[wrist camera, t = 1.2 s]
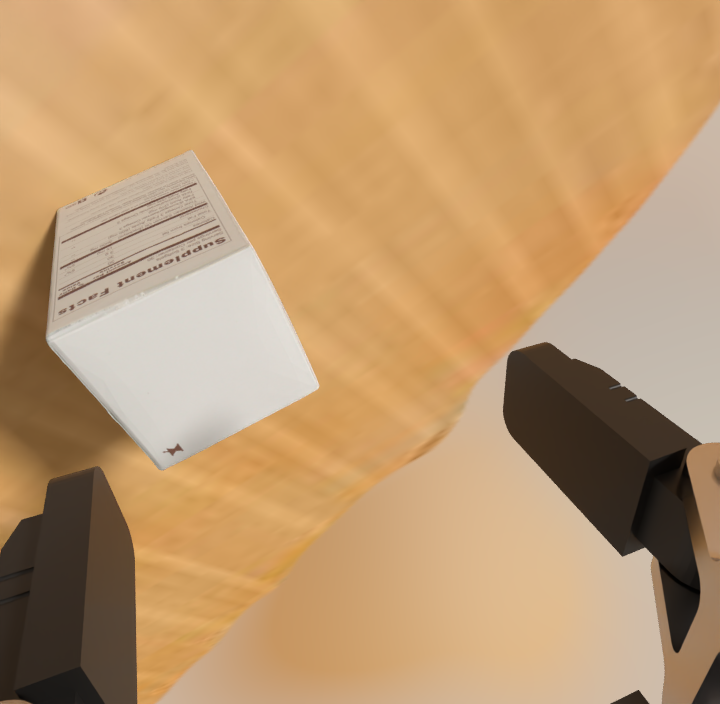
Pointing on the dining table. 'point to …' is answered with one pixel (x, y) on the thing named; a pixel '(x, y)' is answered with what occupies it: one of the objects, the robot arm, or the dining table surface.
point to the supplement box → (171, 313)
